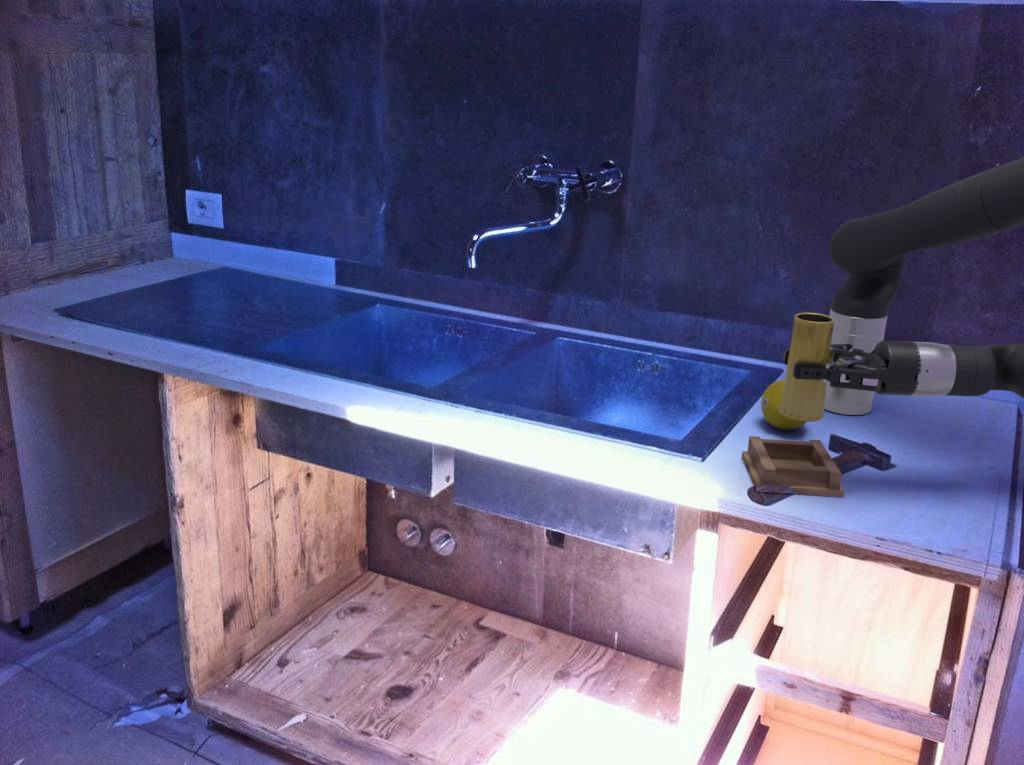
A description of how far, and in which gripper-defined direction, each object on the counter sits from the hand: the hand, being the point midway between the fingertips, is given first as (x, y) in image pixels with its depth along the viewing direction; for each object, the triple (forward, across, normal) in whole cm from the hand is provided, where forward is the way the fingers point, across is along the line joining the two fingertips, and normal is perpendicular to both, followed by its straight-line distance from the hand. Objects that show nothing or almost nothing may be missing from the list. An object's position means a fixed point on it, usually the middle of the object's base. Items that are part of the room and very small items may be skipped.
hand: (789, 363), depth 130 cm
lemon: (-5, -19, +18) cm, 26 cm away
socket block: (-2, 0, +17) cm, 17 cm away
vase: (-3, 0, +8) cm, 8 cm away
